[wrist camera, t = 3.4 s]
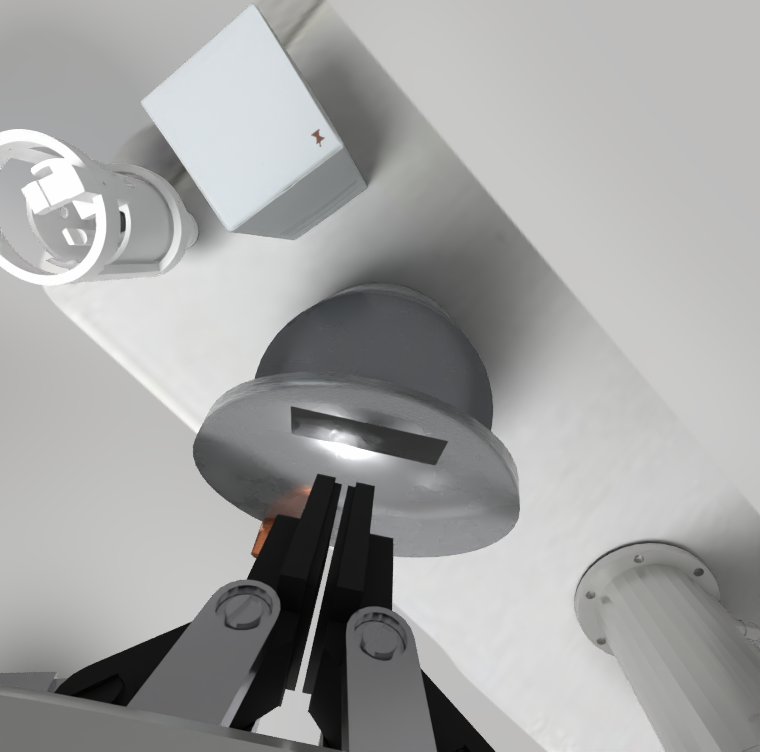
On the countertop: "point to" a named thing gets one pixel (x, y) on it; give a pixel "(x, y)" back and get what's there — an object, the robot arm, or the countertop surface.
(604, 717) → the countertop surface
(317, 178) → the supplement box
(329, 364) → the grey rounded cylinder
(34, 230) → the white caged cylinder
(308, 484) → the lid
